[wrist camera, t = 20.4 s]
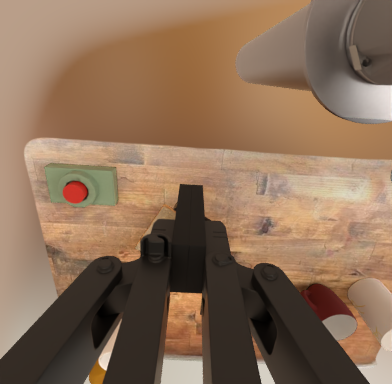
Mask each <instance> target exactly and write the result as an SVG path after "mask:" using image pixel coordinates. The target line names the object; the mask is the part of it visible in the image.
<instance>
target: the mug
mask: <svg viewBox="0 0 392 384" xmlns="http://www.w3.org/2000/svg"><path fill="white" fill-rule="evenodd" d="M300 294H301V295H302V297H303V298H304V299H305V300H306V302H307V303H308V304H309V306H310V307H311V308H312V310H313V311H314V312H315V313H316V315H317V316H318V317H319V319H320V320H321V321H322V322H323V324H324V325H325V326H326V328H327V329H328V330H329V332H330V333H331V334H332V335H333V337H334V338H335V339H336V341H339V340H343V339H345V338H347V337H349V336H351V335H352V334H353V333H354V332H355V331H356V329H357V321H356V319H355V317H354V316H353V314H352V313H351V311H350V310H349V308H348V307H347V306H346V305H345V304H344V303H343V302H342V300H341V299H340V298H339V297H338V296H337V295H336V294H335V293H334V292H333V291H332V290H330V289H329V288H327V287H325V286H323V285H321V284H314V285H312V286H310V287H309V288H308V290H303V291H302V292H301V293H300Z"/></svg>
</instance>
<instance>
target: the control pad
mask: <svg viewBox="0 0 392 384" xmlns="http://www.w3.org/2000/svg"><path fill="white" fill-rule="evenodd" d="M44 169H45V174H46V179H47V184H48V189H49V194H50V199H51V202H57V203H67V204H69V205H71V206H73V207H86V206H88V205H90V204H93V205H111V206H115V205H116V203H117V202H118V191H117V177H116V167H105V166H88V165H71V164H54V163H50V164H49V165H47V166H45V167H44ZM72 181H79V182H81V183H83V184H84V185H85V186H86V188H87V191H88V193H87V196H86V197H85V198H84V199H83V200H82V202H80V203H77V204H73V203H70V202H68V201H67V200H66V199H65V198H64V196H63V189H64V187H65V186H67V185H68V184H69V183H70V182H72Z"/></svg>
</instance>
